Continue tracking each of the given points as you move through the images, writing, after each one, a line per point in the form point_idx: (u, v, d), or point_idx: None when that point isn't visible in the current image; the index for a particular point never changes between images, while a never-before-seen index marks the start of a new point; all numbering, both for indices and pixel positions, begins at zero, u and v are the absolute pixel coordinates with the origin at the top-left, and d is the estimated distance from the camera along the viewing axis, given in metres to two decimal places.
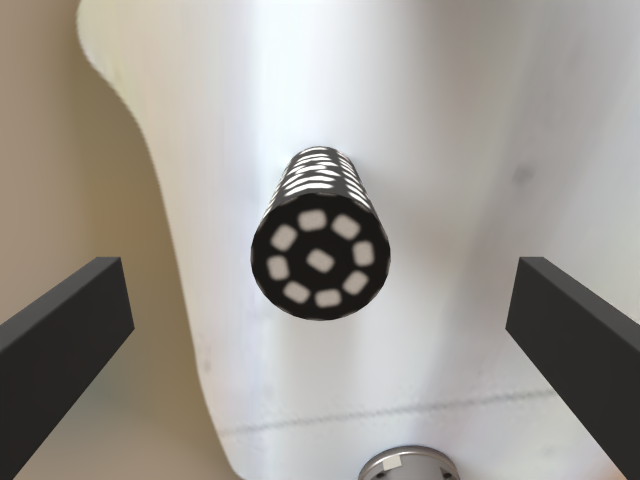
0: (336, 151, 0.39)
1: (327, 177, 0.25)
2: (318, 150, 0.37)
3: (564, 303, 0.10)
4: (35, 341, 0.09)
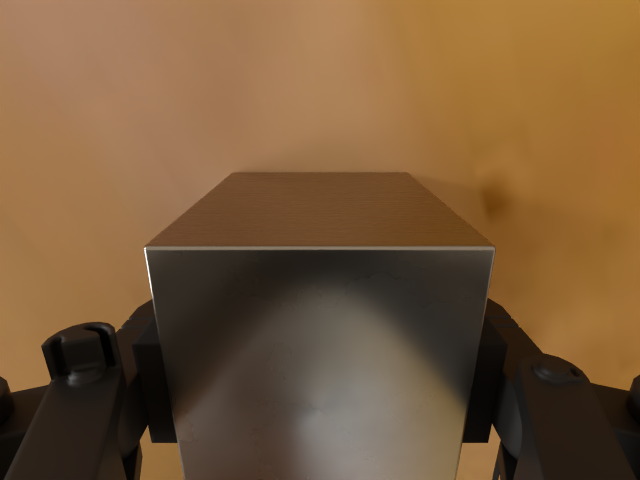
0: None
1: None
2: None
3: None
4: None
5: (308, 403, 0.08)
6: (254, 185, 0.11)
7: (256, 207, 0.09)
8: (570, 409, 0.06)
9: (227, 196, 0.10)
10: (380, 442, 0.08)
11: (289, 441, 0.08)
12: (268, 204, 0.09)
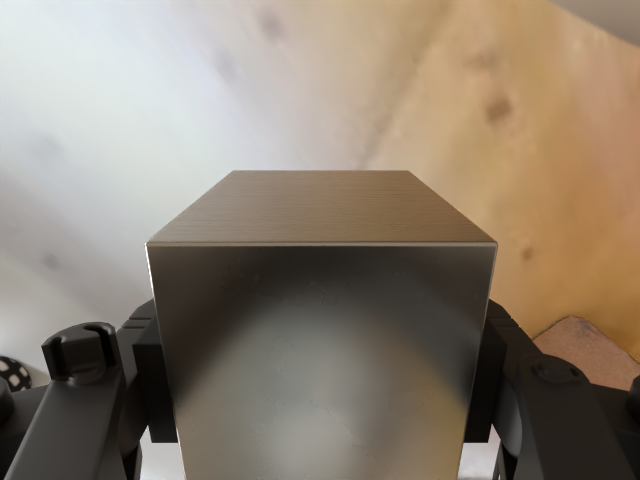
0: None
1: None
2: None
3: None
4: None
5: (308, 400, 0.08)
6: (255, 183, 0.11)
7: (257, 204, 0.09)
8: (569, 409, 0.06)
9: (228, 193, 0.10)
10: (381, 438, 0.08)
11: (290, 438, 0.08)
12: (269, 201, 0.09)
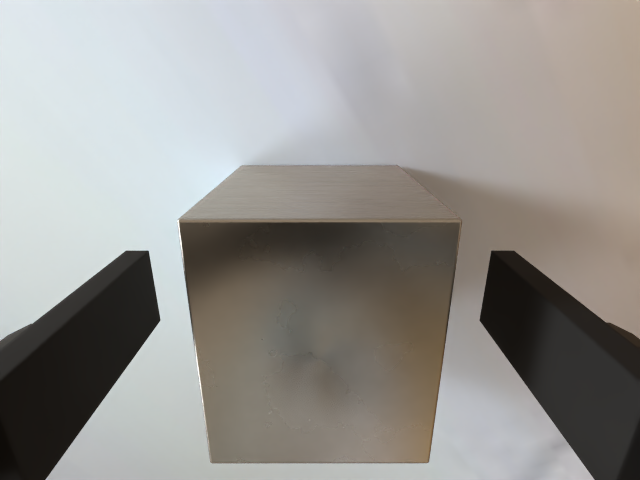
0: None
1: None
2: None
3: (528, 293, 0.10)
4: (79, 328, 0.09)
5: (309, 352, 0.09)
6: (261, 175, 0.13)
7: (265, 192, 0.11)
8: None
9: (239, 184, 0.12)
10: (370, 386, 0.10)
11: (293, 386, 0.10)
12: (275, 190, 0.11)
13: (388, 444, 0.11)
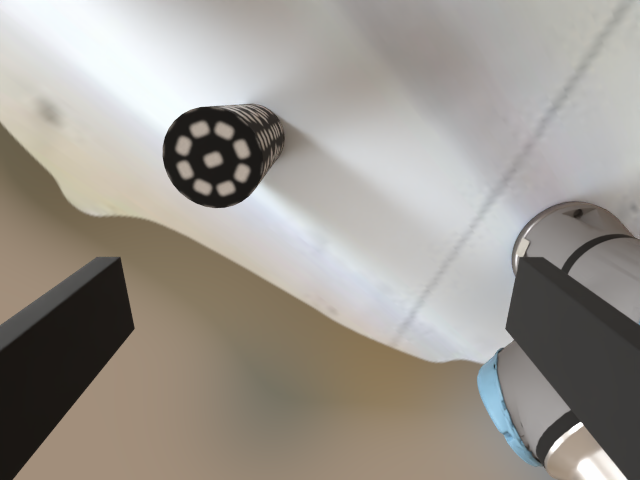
0: None
1: None
2: None
3: (564, 303, 0.10)
4: (35, 341, 0.09)
5: None
6: None
7: None
8: None
9: None
10: None
11: None
12: None
13: None
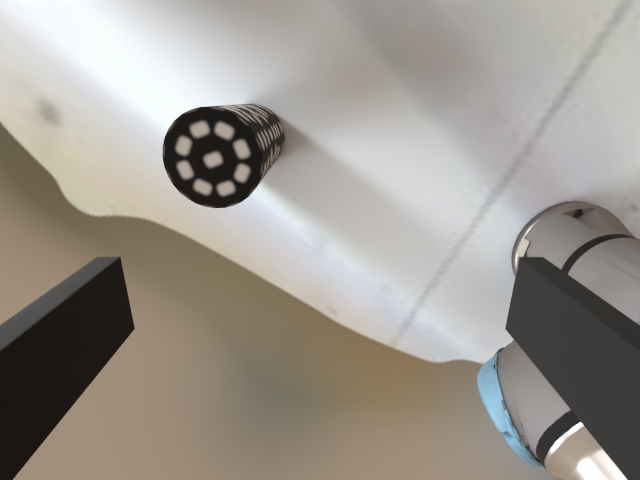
0: None
1: None
2: None
3: (564, 303, 0.10)
4: (35, 341, 0.09)
5: None
6: None
7: None
8: None
9: None
10: None
11: None
12: None
13: None
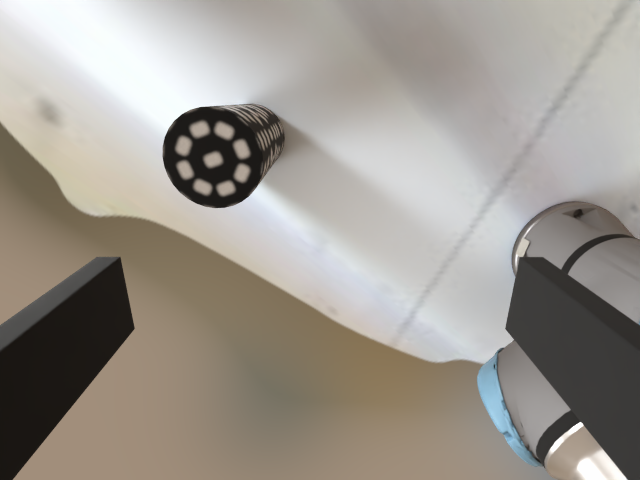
0: None
1: None
2: None
3: (564, 303, 0.10)
4: (35, 341, 0.09)
5: None
6: None
7: None
8: None
9: None
10: None
11: None
12: None
13: None
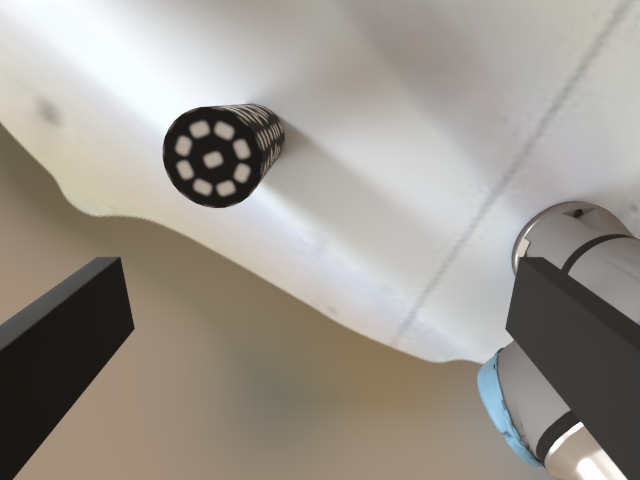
0: None
1: None
2: None
3: (564, 303, 0.10)
4: (35, 341, 0.09)
5: None
6: None
7: None
8: None
9: None
10: None
11: None
12: None
13: None
